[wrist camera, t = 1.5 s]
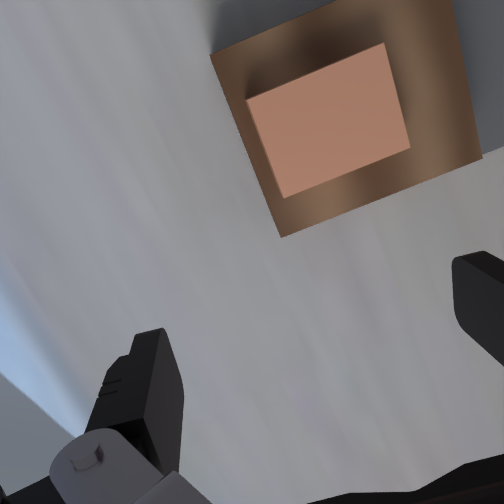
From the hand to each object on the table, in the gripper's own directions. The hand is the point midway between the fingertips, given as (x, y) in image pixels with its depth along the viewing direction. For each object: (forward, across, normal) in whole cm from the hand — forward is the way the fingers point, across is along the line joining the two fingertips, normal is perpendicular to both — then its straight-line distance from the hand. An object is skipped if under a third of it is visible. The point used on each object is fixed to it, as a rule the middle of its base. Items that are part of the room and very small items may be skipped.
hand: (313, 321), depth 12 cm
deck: (+21, -7, -4) cm, 22 cm away
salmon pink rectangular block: (+17, -5, -3) cm, 18 cm away
